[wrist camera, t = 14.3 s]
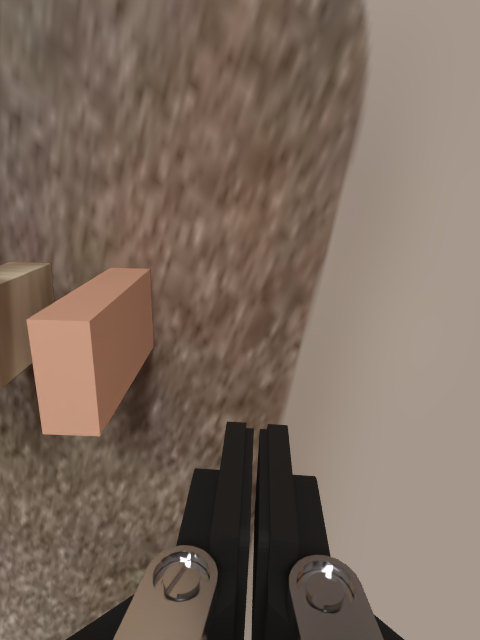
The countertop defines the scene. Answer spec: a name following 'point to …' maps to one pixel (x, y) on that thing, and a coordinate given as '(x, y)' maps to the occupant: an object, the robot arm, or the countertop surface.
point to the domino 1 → (20, 312)
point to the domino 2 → (91, 350)
